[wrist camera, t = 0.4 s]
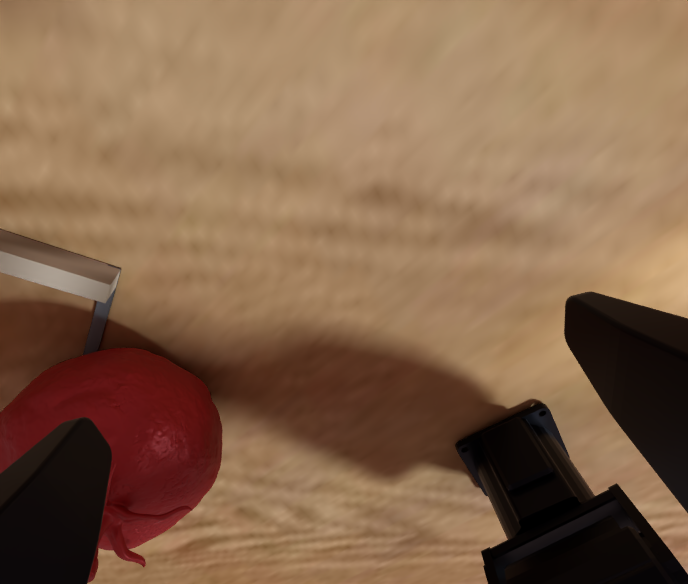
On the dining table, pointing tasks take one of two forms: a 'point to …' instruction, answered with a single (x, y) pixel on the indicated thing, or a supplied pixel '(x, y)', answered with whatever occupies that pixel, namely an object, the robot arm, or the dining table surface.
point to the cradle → (62, 275)
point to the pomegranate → (127, 437)
